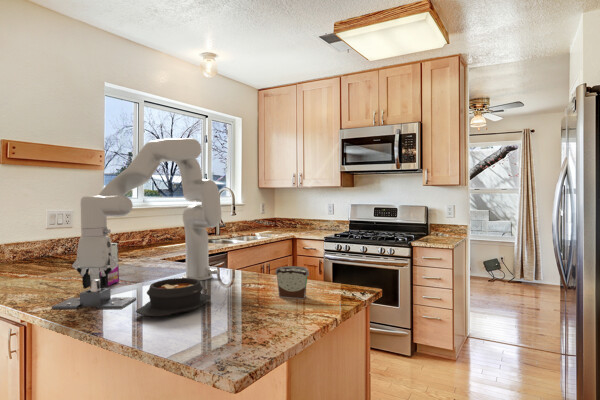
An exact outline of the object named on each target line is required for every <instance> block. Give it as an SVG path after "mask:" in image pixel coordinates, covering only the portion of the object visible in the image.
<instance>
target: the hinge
mask: <svg viewBox="0 0 600 400" xmlns="http://www.w3.org/2000/svg"><path fill="white" fill-rule="evenodd" d="M134 300H135V301H136V300H137V297H135V296H134V297H129V296H128V297H123V296H122V297H121V296H120V297H116V296H115V297H112V298H111V288H110V287H105V288H103V289H101V291H100V292H90V288H89V289H88V288H87V289H86V290H84V291H82V292H79V297H70V298H67V299H65V300H62V301H61V302H58V303H56V304H54V305H52V306H51V309H52V310H58V309H59V310H66V309H67V310H76V309H79V308H96V309H104V310H105V309H106V310H107V309H112V308H122V309H123V307H124V308H125V307H127V306H128V305H130V304H131V302H132V301H133V302H134ZM133 302H132V303H133ZM129 303H130V304H129ZM126 305H127V306H126Z"/></svg>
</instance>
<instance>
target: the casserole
mask: <svg viewBox="0 0 600 400" xmlns="http://www.w3.org/2000/svg"><path fill="white" fill-rule="evenodd" d="M203 290H204V286H203V285H202V283H201V280H200V281H199V280H196V279H190V278H181V277H180V278H179V277H178V278H177V277H176V278H175V277H174V278H170V279H162V280H159V281H158V280H157V281H154V282H153V283H151V284H150V286H149V288H148V290H147V291H146V294H147V296H148V297H149V298H148V299H149V301H148V302H147V303H145V304H144V305H143V306H141V307H138V309H136V311H135V312H136V313H137V314H139V315H141V316H145V317H156V318H157V317H167V316H169V315H173V316H174V315H180V314H181V315H182V314H186V313H189V312H191V311H193V310H196V309H198V308H201V307H203V306H205V304H206V303H207V301H209V300H210V299H211V298H212V297H211V295H209V294H206V293H204V292H203Z"/></svg>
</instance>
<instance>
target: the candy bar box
mask: <svg viewBox="0 0 600 400" xmlns="http://www.w3.org/2000/svg"><path fill="white" fill-rule="evenodd" d="M111 244H112V251H113V259H114V261H115V262H116V263H117V267H115V268H114V269H113V270H112V271H111V272H110V273H109V274H108V285H107V287H110V286H113V285H115V284H117V283H119V282H120V271H119V269H120V268H119V267H120V266H119V246H118V245H119V244H118V242H111ZM107 266H108V268H109V267H110V266H111V265H107ZM89 275H90V277H91V280H94V279H100V277H101V276H102V275H101V271H100V268H90V270H89Z"/></svg>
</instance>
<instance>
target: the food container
mask: <svg viewBox="0 0 600 400" xmlns="http://www.w3.org/2000/svg"><path fill="white" fill-rule="evenodd" d="M309 272H310V271H309V269H308V268H307V267H304V266H298V265H297V266H295V265H293V266H292V265H290V266H279V267H276V269H275V273H274V274H275V275H276V279H277V289H278V297H279V298H283V299H284V298H286V299H296V300H297V299H298V300H306V293H307V284H308V283H307V282H308V277H309V276H310V273H309Z"/></svg>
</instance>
